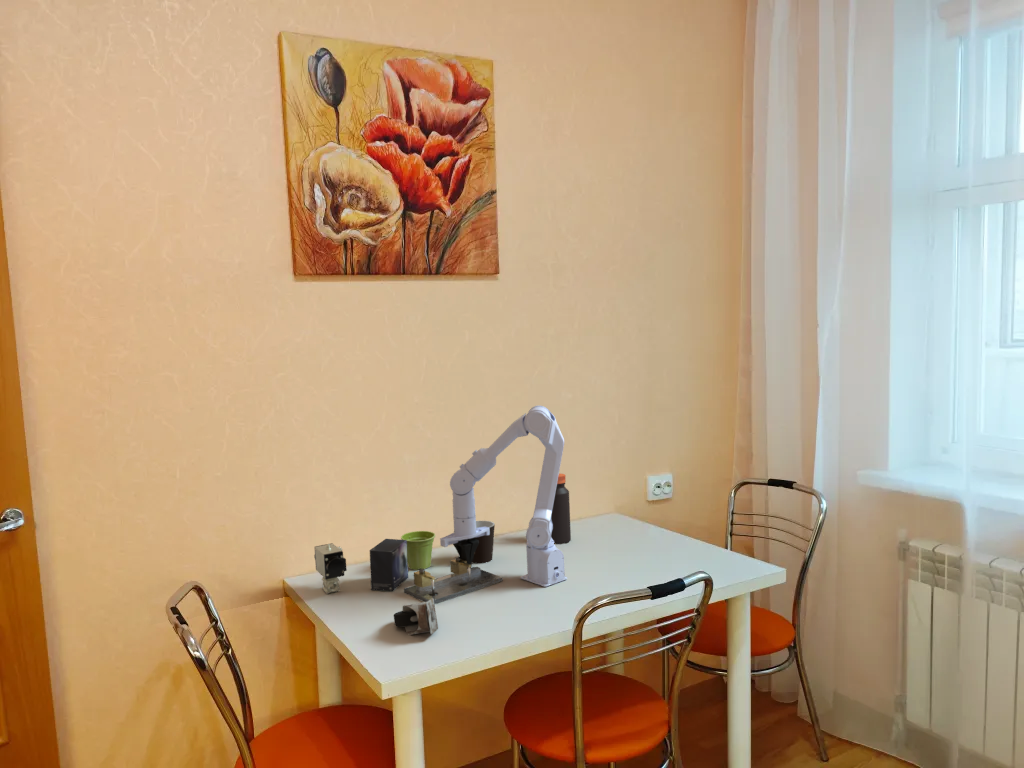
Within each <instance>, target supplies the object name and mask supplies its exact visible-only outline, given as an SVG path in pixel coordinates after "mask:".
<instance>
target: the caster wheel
mask: <svg viewBox="0 0 1024 768" xmlns="http://www.w3.org/2000/svg"><path fill="white" fill-rule="evenodd" d="M435 605H436V604H434V599H433V598H432V599H430V600H429V601H428V602H424V601H421V602H416V603H410V604H404V605H402V610H400V611H397V612H395V613H394V614H393V620H394V626H395V627H397V628H401V627H404V628H405V631H406V634H407V635H409V636H411V635H418V634H424V633H430V635H433V634H434V633H435V632H436V631H437V630H439V625H438V619H437V611H436V607H435Z"/></svg>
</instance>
